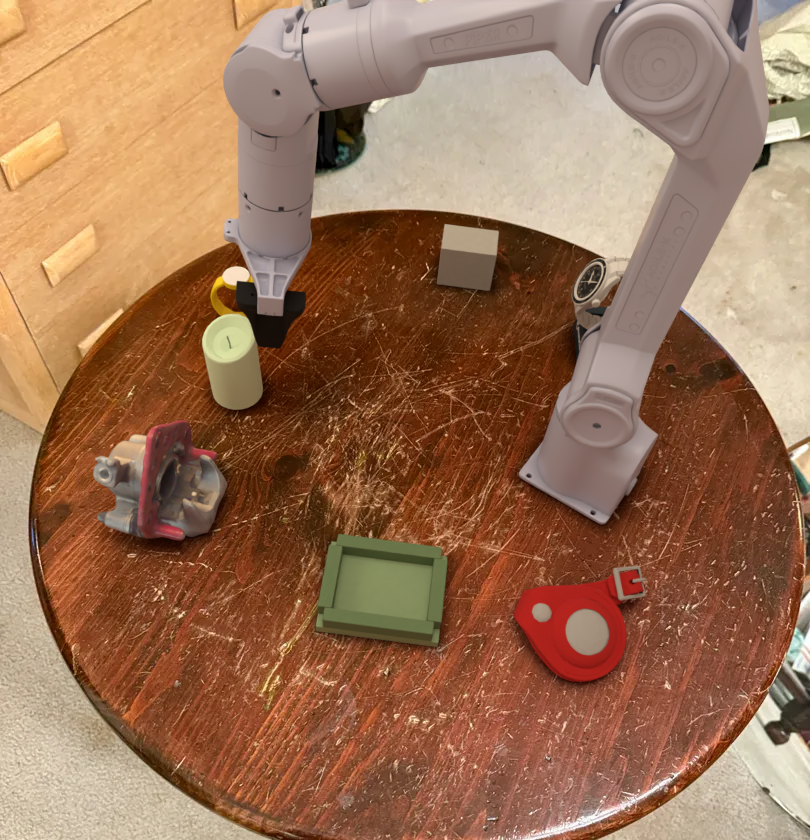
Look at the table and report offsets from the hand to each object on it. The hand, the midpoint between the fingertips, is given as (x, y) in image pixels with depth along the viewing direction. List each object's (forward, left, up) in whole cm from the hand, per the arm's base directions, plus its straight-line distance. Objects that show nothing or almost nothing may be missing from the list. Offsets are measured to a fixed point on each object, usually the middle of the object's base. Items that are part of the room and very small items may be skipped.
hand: (271, 312), depth 74 cm
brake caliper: (-1, +17, -10) cm, 20 cm away
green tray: (-22, +13, -10) cm, 28 cm away
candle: (+3, +3, -10) cm, 11 cm away
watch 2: (+9, -5, -10) cm, 14 cm away
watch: (-23, -25, -10) cm, 36 cm away
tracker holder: (-38, +5, -10) cm, 40 cm away
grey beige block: (-6, -25, -10) cm, 28 cm away
